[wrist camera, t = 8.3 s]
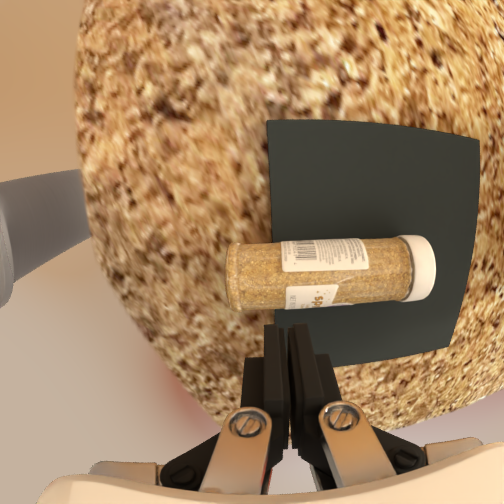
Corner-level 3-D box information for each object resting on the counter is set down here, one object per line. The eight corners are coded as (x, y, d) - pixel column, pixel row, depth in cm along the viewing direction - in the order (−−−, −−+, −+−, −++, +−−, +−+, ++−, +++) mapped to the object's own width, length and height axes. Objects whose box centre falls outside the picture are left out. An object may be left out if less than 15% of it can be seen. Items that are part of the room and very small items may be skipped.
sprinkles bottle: (227, 324, 17) (433, 309, 16) (221, 249, 16) (441, 241, 15) (236, 296, 21) (406, 287, 20) (231, 235, 20) (410, 230, 19)
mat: (275, 368, 24) (275, 371, 23) (266, 121, 17) (266, 120, 17) (446, 344, 23) (448, 346, 22) (476, 140, 17) (479, 139, 16)
